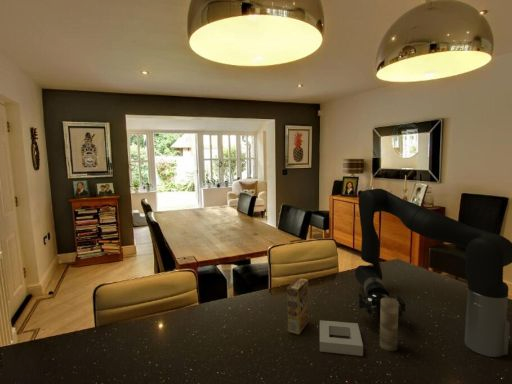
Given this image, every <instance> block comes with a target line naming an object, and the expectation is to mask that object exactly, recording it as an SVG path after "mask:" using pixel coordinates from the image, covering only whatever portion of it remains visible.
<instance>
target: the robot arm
mask: <svg viewBox="0 0 512 384" xmlns="http://www.w3.org/2000/svg"><path fill="white" fill-rule="evenodd" d="M358 210H359V211H358V212H359V219H360V220H359V222H360V229H361V230H360V232H361V247H360V248H361V250H360V258H361V260H362V261H363V262H364V263H368V264H371V265H366V264H365V265H358V266H357V267H356V269H355V270H354V273H355V274H354V275H355V278H356V280H357V282H358V283H359V284H360V285H361V286H362V287H363V291H364V294H365V295H363V294H362V293H358V295H357V296H358V297H357V298H358V299H357V301H358V308H359V309H363V308H364V309H365V311H366V313H367V314H368V315H370V316H372V314H373V309H374V308H376V307H377V308H381V299H382V298H392V299H395V300H397V301H398V302H399V307H398V318H401V317H402V316H403V312H404V313H405V312H406V303H405V301H404V300H403V298H402V297H401V296H400V295H399V296H398V295H397V296H396V298H395V297H392V296H390V293H389V290H387V287H386V285H385V283H384V282H383V281H382V280H383V272H382V268H381V263H380V248H381V243H380V241H381V240H380V238H379V235H378V233H377V230H376V227H375V223H374V219H375V213H379V212H384V213H387V214H390V215H393V216H395V217H396V218H398V219H399V220H400V222H401V223H402V224H403V225H404V226H405V227H406V228H407V229H408V230H410V231H412V232H414V233H416V234H417V235H420V236H422V237H424V238H426V239H430V240H433V241H436V242H440V243H445V244H451V245H454V246H457V247H460V248H462V249H465V256H464V257H465V259H464V261H465V264H464V269H465V270H464V273H465V274H464V275H465V279H466V281H467V294H466V295H467V296H466V311H465V331H464V345H465V346H466V347H467V348H468V349H470V350H471V351H473V352H474V353H477V354H480V355H482V356H484V357H485V356H486V357H490V358H500V357H502V356H508V353H509V342H510V341H509V340H510V328H511V327H510V326H511V324H510V322H509V321H508V320H507V314H508V303H509V302H508V301H509V286H508V284H507V283H506V282H505V281H504V267H506V266H508V265H510V264H512V241H511V240H509V239H508V238H507V237H505V236H503V235H499V234H497V233H494V232H490V231H486V230H484V229H480V228H476V227H473V226H470V225H468V224H465V223H463V222H461V221H458V220H457V219H454V218H451V217H449V216H446V215H444V214H442V213H440V212H437V211H435V210H432V209H430V208H428V207H424V206H422V205H420V204H419V205H418V204H417V203H414V202H412V201H408V200H405V199H403V198H401V197H399V196H397V195H395V194H394V193H391V192H390V191H388V190H386V189H383V188H373V189H372V188H371V189H365V190H363V191H362V192H360V194H359V196H358Z"/></svg>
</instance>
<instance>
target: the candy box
mask: <svg viewBox="0 0 512 384" xmlns="http://www.w3.org/2000/svg"><path fill="white" fill-rule="evenodd" d="M286 289H287V290H286V297H287V298H286V299H287V300H286V301H287V305H286V306H287V332H288V333H292V334H294V335H295V334H296V335H300V334H301V333H302V331H303V330H304V329H305V327H306V325H308V323H309V279H305V278H301V277H297V278H296V279H295V280H294V281H292V282H291V283H290V284H289V285H288V286H287V287H286Z"/></svg>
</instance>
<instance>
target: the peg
mask: <svg viewBox="0 0 512 384" xmlns="http://www.w3.org/2000/svg"><path fill="white" fill-rule="evenodd" d="M392 298H393V297H392ZM392 298H382V299H381V307H380V311H379V312H380V314H379V315H380V317H379V321H380V322H379V347H380V348H381V349H382V350H384V351H386V352H395V351H397V350H398V334H399V333H398V331H399V329H398V327H399V317H398V307H399V302H398V301H397V300H395V299H392Z"/></svg>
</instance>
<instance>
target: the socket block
mask: <svg viewBox="0 0 512 384" xmlns="http://www.w3.org/2000/svg"><path fill="white" fill-rule="evenodd" d="M331 335H332V336H333V337H330V336H331ZM334 336H342V337H348V338H342V337H334ZM362 340H363V339H362V336H361V331H360V326H359V323H357V322H356V323H355V322H343V321H331V320H321V319H320V320H319V352H321V353H322V352H323V353H329V354H330V353H331V354H342V355H350V356H360V357H363V356H364V343H363V341H362Z"/></svg>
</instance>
